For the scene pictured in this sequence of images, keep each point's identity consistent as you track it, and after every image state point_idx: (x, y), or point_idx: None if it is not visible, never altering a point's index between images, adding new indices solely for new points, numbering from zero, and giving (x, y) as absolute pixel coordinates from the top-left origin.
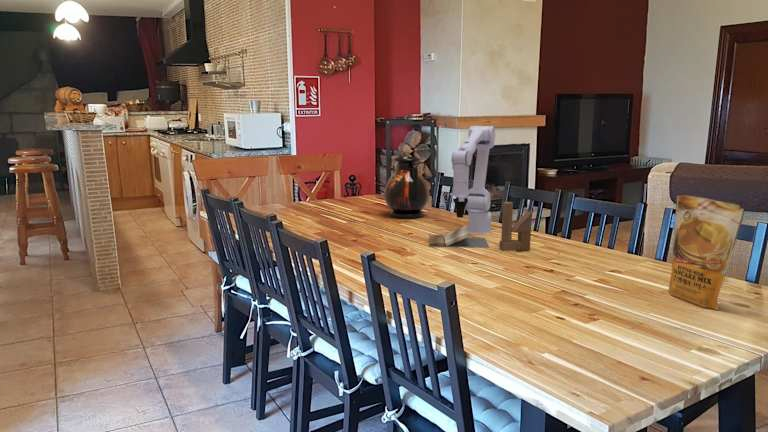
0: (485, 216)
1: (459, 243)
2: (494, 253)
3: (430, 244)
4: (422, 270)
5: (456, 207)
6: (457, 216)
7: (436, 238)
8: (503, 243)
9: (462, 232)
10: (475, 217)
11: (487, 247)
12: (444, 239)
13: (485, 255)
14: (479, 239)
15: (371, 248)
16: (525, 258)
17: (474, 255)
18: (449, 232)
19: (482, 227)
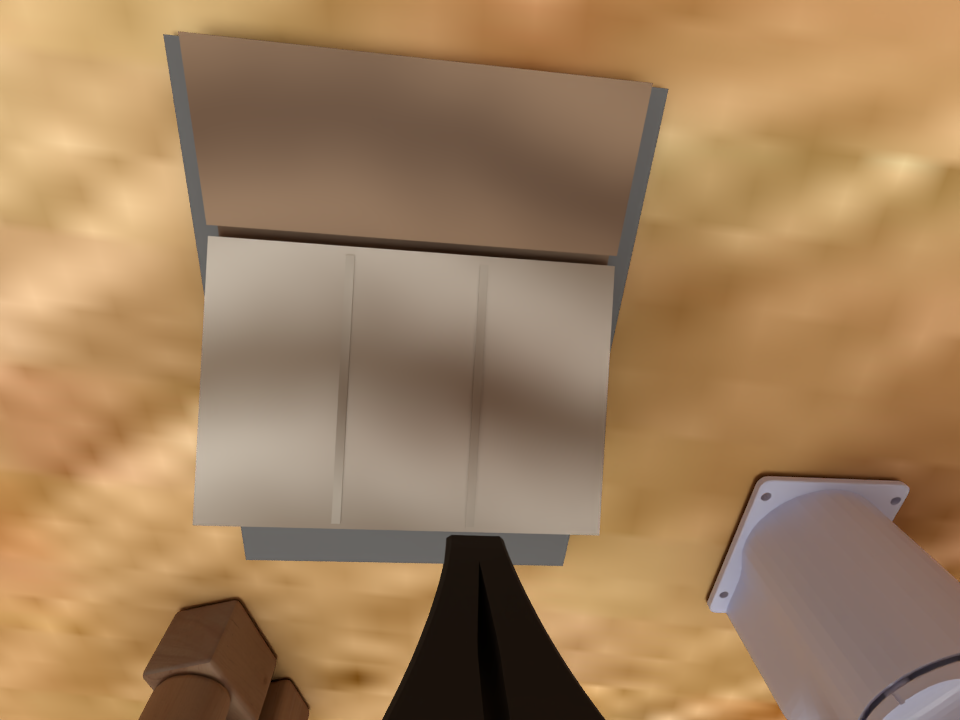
0: (823, 716)
1: None
2: (131, 562)
3: (188, 45)
4: None
5: (394, 698)
6: (447, 547)
7: (443, 158)
8: (146, 669)
9: (336, 460)
10: (840, 645)
11: (249, 549)
12: (493, 254)
13: (47, 506)
14: None
15: None
16: (51, 683)
17: (16, 437)
18: (609, 334)
19: (763, 604)
